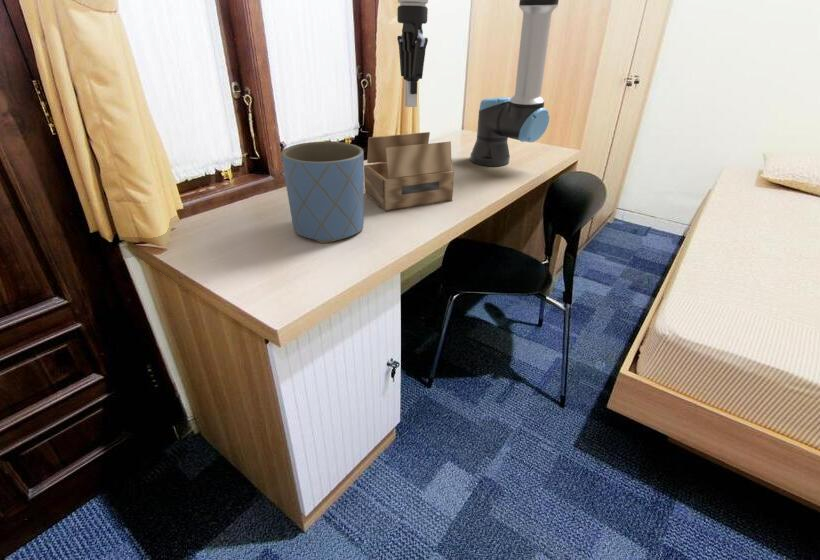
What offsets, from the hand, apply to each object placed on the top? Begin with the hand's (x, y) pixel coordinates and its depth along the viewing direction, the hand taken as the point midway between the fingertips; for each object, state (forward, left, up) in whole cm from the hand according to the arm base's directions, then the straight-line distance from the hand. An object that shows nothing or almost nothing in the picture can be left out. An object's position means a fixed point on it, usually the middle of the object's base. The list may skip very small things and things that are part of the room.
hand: (410, 106), depth 119 cm
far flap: (0, -7, -13) cm, 15 cm away
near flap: (0, +6, -13) cm, 15 cm away
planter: (+29, +12, -27) cm, 41 cm away
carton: (0, -1, -26) cm, 26 cm away
